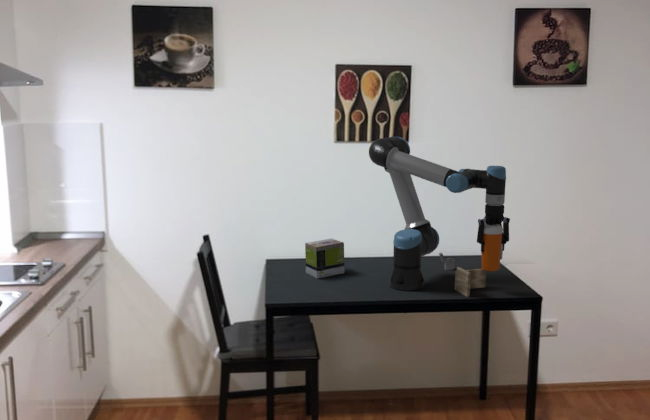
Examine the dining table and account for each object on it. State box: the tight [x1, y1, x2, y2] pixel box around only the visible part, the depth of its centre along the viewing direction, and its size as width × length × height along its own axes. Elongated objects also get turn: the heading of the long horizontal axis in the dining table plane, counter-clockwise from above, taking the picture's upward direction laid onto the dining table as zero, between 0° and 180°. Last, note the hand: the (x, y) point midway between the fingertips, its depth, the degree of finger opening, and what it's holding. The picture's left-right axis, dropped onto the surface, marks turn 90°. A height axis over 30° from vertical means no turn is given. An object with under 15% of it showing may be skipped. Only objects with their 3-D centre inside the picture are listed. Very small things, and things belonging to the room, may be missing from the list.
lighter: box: [438, 252, 455, 271], centre depth 299 cm, size 7×2×8 cm, turn 94°
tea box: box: [304, 238, 345, 279], centre depth 290 cm, size 15×10×15 cm, turn 123°
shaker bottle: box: [480, 222, 503, 272], centre depth 264 cm, size 9×9×20 cm
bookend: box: [454, 266, 487, 298], centre depth 266 cm, size 14×10×10 cm
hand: (492, 259), depth 265 cm, fingers open, 6 cm apart
